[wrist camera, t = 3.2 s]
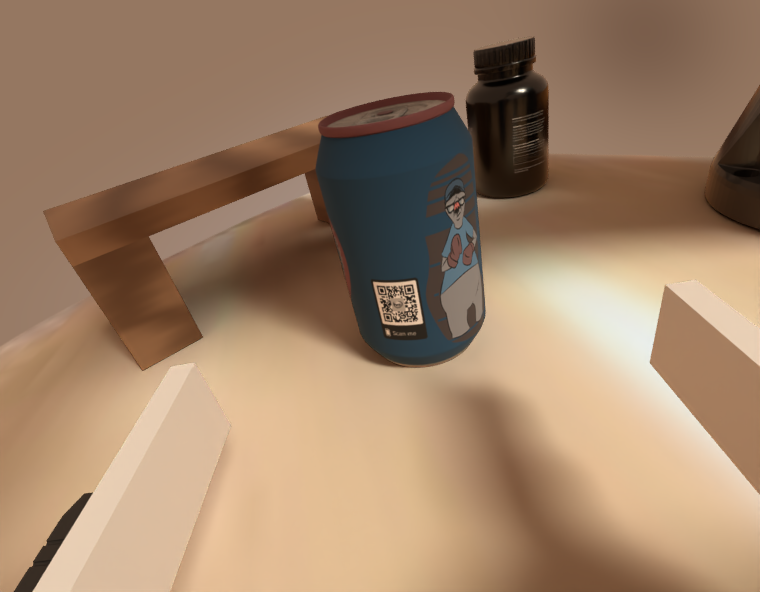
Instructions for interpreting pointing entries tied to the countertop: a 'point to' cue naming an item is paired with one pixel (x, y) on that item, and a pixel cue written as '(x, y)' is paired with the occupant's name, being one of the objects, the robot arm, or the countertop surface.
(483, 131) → the supplement bottle
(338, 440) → the countertop surface
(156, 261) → the bridge shelf
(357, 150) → the soda can
